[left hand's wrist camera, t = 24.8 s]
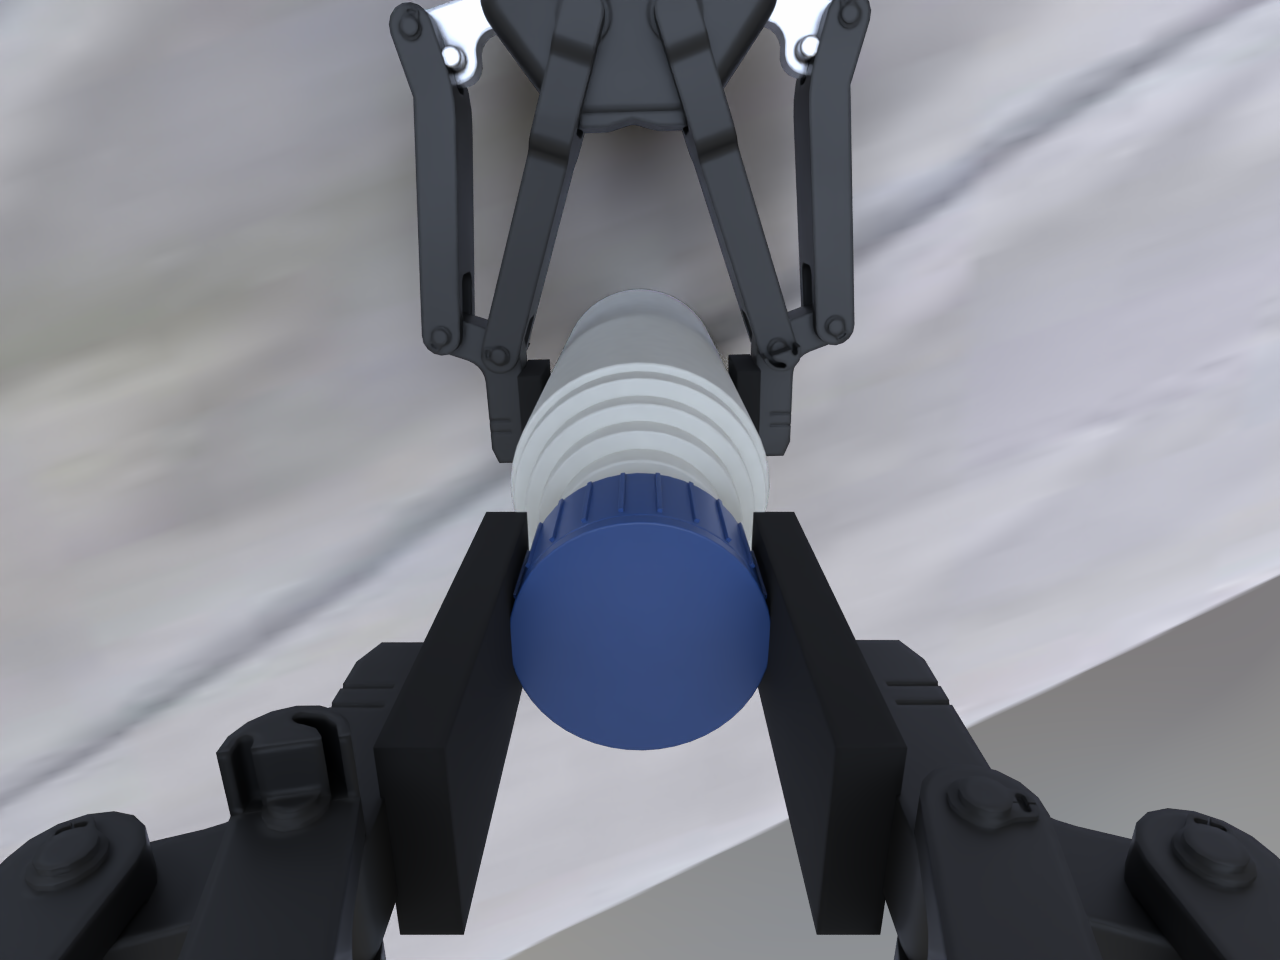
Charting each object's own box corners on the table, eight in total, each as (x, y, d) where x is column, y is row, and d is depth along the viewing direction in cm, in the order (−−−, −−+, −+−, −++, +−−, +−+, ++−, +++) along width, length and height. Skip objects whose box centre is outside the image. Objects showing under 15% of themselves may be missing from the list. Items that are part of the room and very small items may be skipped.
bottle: (746, 362, 33) (904, 614, 13) (642, 466, 34) (647, 827, 15) (636, 255, 31) (631, 360, 12) (533, 369, 33) (377, 628, 13)
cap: (778, 645, 15) (801, 718, 13) (565, 698, 16) (553, 778, 14) (724, 441, 14) (739, 486, 12) (491, 505, 14) (465, 561, 12)
